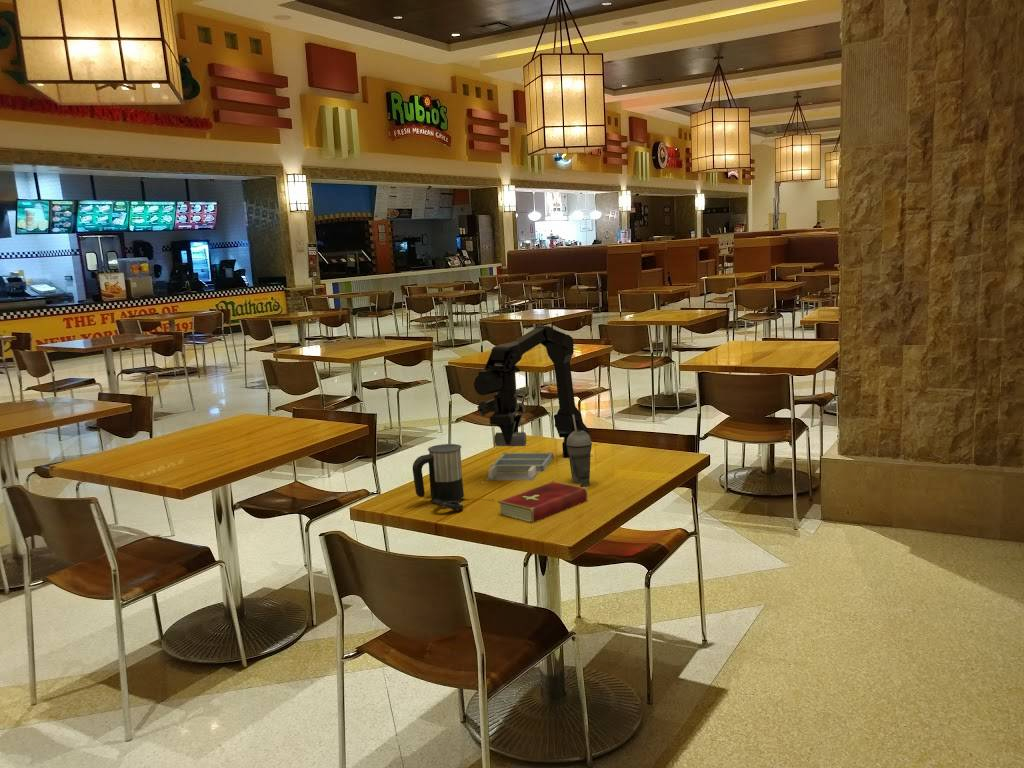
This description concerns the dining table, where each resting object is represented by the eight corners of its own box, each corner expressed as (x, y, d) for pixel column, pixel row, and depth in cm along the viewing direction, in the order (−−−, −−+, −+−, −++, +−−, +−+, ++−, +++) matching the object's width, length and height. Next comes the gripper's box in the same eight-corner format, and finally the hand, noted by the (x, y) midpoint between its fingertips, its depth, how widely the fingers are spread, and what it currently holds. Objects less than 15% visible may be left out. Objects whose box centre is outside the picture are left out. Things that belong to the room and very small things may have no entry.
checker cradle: (538, 475, 244) (538, 464, 244) (532, 483, 237) (532, 472, 236) (493, 475, 248) (492, 464, 247) (485, 483, 240) (484, 471, 240)
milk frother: (451, 493, 233) (446, 441, 230) (488, 503, 221) (484, 448, 219) (410, 506, 223) (405, 452, 221) (447, 517, 212) (442, 460, 209)
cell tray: (553, 460, 260) (553, 453, 260) (543, 474, 246) (542, 466, 245) (504, 460, 264) (503, 453, 264) (491, 474, 250) (490, 465, 249)
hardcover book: (587, 502, 218) (587, 487, 217) (533, 524, 203) (532, 508, 202) (553, 495, 226) (552, 480, 225) (498, 516, 211) (497, 500, 211)
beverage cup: (592, 488, 228) (589, 417, 225) (566, 488, 230) (562, 417, 227) (595, 480, 235) (592, 411, 232) (570, 480, 237) (566, 412, 234)
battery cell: (526, 444, 241) (525, 430, 241) (523, 447, 238) (522, 433, 237) (496, 444, 244) (496, 431, 243) (493, 447, 240) (492, 434, 239)
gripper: (488, 384, 249) (491, 435, 251) (470, 396, 231) (474, 450, 233) (524, 383, 246) (527, 435, 249) (508, 395, 228) (512, 450, 231)
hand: (509, 442), depth 240 cm, fingers closed on battery cell, 4 cm apart
